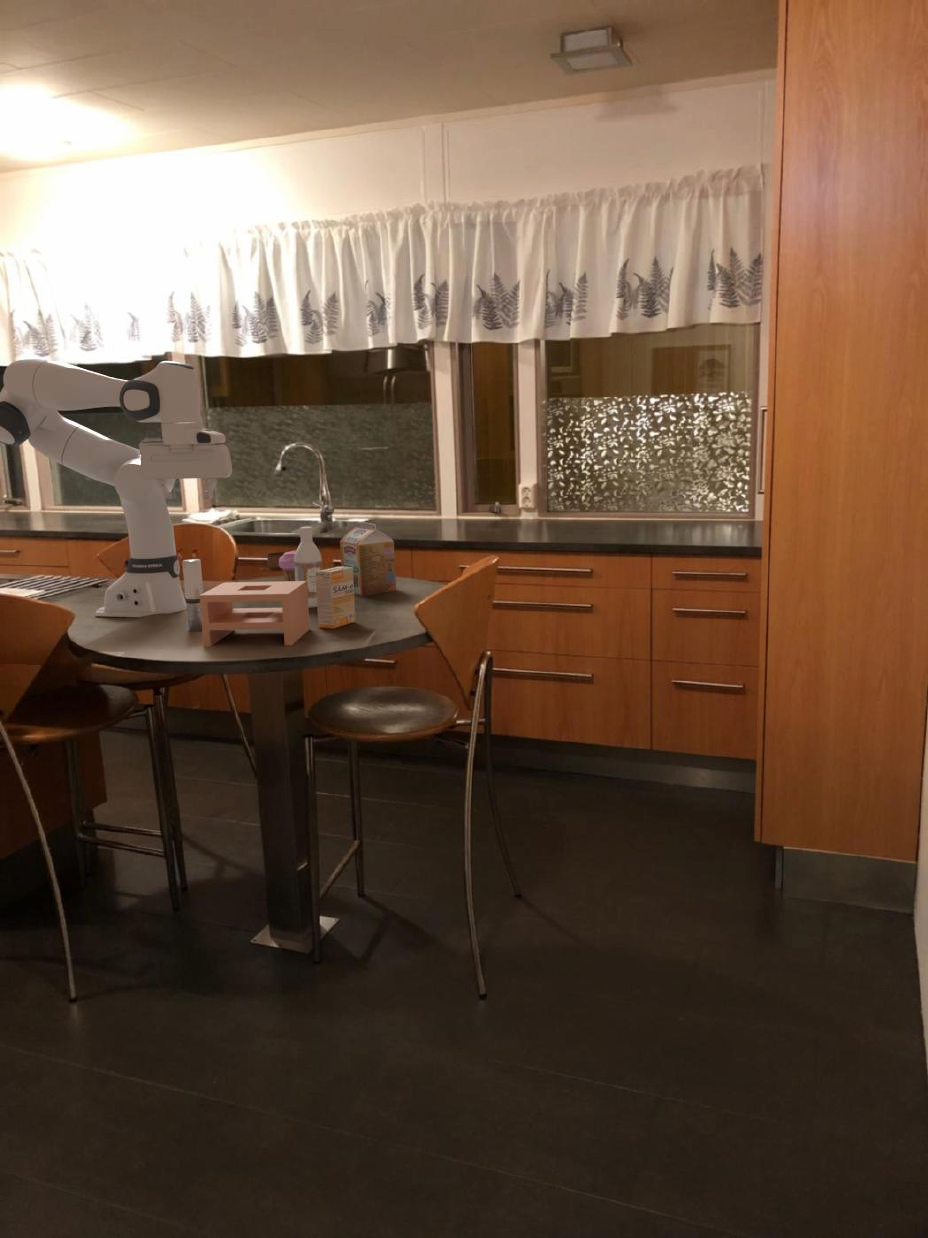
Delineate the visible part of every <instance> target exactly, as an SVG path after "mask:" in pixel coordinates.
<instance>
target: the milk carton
mask: <svg viewBox="0 0 928 1238" xmlns="http://www.w3.org/2000/svg"><path fill="white" fill-rule="evenodd" d="M339 547H340V564H341V566H340V567H353V581H354V595H356V596H360V597H364V596H371V595H375V594H381V593H382V594H383V593H387V592H392V591H397V584H396V583H397V582H396V581H397V580H396V579H397V577H396V562H395V560H396V559H395V557H396V556H395V541H394V539H393V538H391V537H390V536H389V535H387V534H386V533H384V532H382V531H380V530H378V529H377V525H376V523H371V522H363V521H356V522H355V527H354V528H352V529H350V530H349V532H347V533H346V534H345V535H343V537H342V538H341V539H340V541H339Z"/></svg>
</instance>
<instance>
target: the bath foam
mask: <svg viewBox="0 0 928 1238" xmlns="http://www.w3.org/2000/svg"><path fill="white" fill-rule="evenodd" d="M299 535H300V543H299V545H298V547H297V548H296V550H295V551H296V552H295V556H294V568H295V581H307V592H308V607H309V609H312V608H317V592H316V575H315V571H320V570H324V569H323V559H322V555H321V554H322V553H321V552H320V550H319V548H318V547H317V545H316V544H315V542H314V541H313V527H312V526H301V527H299Z"/></svg>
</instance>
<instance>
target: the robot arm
mask: <svg viewBox="0 0 928 1238" xmlns="http://www.w3.org/2000/svg"><path fill="white" fill-rule="evenodd" d="M199 382H200V381H199V377H198V373H197V371H196V369H195V367H194V366H193V365H191V364H190V363H185V362H179V361H172V360H163V361H160V362H159V363H157V365H156V367H155V368H154V369H152V370H151V371H149V372H147V373H144V374H143V375H141V376H138V377H135V378H133V379H130V380H128V379H120V378H115V377H110V376H107V375H104V374H101V373H99V372H94V371H91V370H87V369H84V368H82V367H79V366H75V365H73V364H69V363H64V362H63V361H62V362H61V361H56V360H49V359H40V358H39V359H38V358H37V359H36V358H35V359H34V358H33V359H30V358H29V359H19V360H15V361H13V362H11V363H10V364H8V365H7V366H6V368H5V370H4V374H3V387H2V388H1V391H0V443H1V444H4V445H7V446H13V447H14V446H15V447H17V446H21V445H22V444H24V443H25V442H26V441H28V443H29V444H30V446H31V447H32V448H34V449H35V450H36V451H38V452H39V453H41V454H42V455H44V457H45V456H46V457H47V458H48V459H50V460H52V461H54V462H55V463H58V464H60V465H62V466H64V467H66V468H68V469H70V470H73V471H74V472H76V473H79V474H81V475H83V476H86V477H87V478H89V479H92V480H94V481H98V482H101V483H104V484H107V485H110V486H112V487H114V489H115V491H116V493H117V494H118V496H119V501H120V505H121V508H122V511H123V515H124V518H125V522H126V527H127V533H128V540H129V541H128V543H129V550H130V552H129V553H130V556H129V558H127V559H126V560H124V561H123V562H121V564H122V565H121V567H124V568H125V570H124V571H125V572H124V573H123V574H122V575H121V576H120V577H119V578H117V579H116V580H115V581H114V582H113V583H112V584H111V585H109V586H108V588H106V591H105V593H104V599H103V602H104V603H103V606H102V607H99V608H98V609H96V610H95V616H96V617H115V618H116V617H117V618H122V617H123V618H124V617H125V618H142V617H146V616H151V615H157V614H174V613H178V612H182V611H185V610H187V608H186V602H185V596H184V594H183V590H182V586H181V582H180V580H181V579H180V573H181V571H180V561H179V556H178V554H177V552H176V542H175V541H176V539H175V528H174V523H173V521H172V519H171V515H170V512H169V509H168V505H167V501H171V500H173V499H174V497H173V495H174V494H173V491H172V490H173V488H174V487H175V484H176V480H180V479H181V480H183V479H185V480H186V479H207V484H209V486H208V488H207V490H203V494H204V496H203V497H204V500H212V499H214V490H215V488H216V486H217V484H218V479H225V478H229V477H230V476H231V475H232V473H233V464H232V457H231V453H230V451H229V448H228V446H227V445H225V443H226V435H225V434H224V433H222V432H219V431H214V430H211V429H209V428H205V427H204V424H203V422H204V421H203V418H202V416H201V405H202V399H201V398H202V397H201V388H200V387H201V386H200V383H199ZM104 407H106V408H107V407H108V408H109V407H117V408H119V407H120V409H121V411H122V412H123V414H124V415H125V416H126V418H128V419H129V420H131V421H135V422H137V423H138V422H139V423H160V424H161V425H160V426H161V435H162V436H156V437H145V438H143V439H142V440H141V441H140V442H139V444H138V448H135V447H133V446H130V445H128V444H125V443H122V442H119V441H117V440H114V439H111V438H109V437H107V436H106V435H103V434H101V433H99V432H97V431H95V430H92V429H90V428H89V427H86V426H84V425H83V424H80V423H78V422H75V421H73V420H70V419H68V418H66V417H64V416H63V415H61V414H60V412H59V411H63V412H65V411H68V412H69V411H79V410H80V411H81V410H86V409H87V410H88V409H94V408H104Z"/></svg>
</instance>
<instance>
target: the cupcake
mask: <svg viewBox="0 0 928 1238" xmlns="http://www.w3.org/2000/svg"><path fill="white" fill-rule="evenodd" d="M285 552H286V553H284V554H283V556H281V557H280V559H279V566H280V567H281V568H282V569H283V571H282V572H283V577H284V581H295V568H294V556H295V552H296V550H295V549H294V550H291V551H285Z"/></svg>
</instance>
